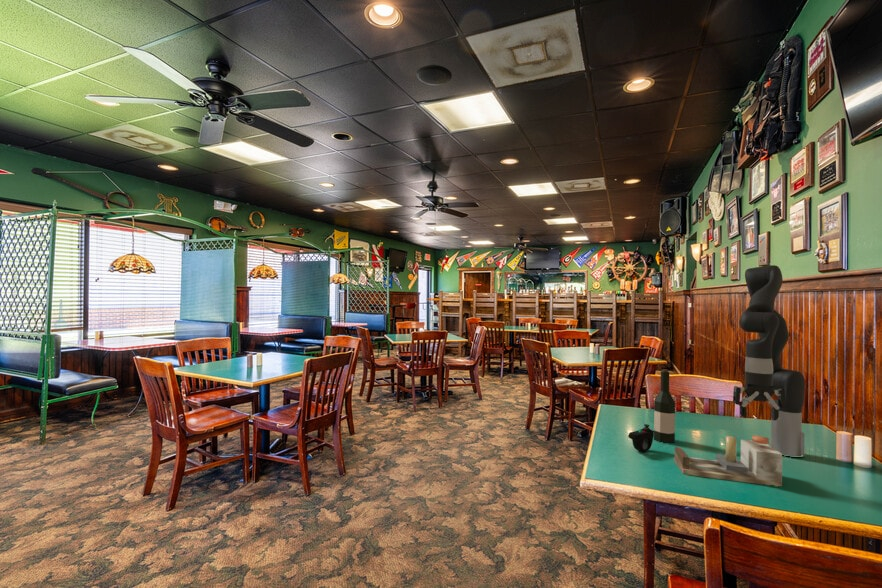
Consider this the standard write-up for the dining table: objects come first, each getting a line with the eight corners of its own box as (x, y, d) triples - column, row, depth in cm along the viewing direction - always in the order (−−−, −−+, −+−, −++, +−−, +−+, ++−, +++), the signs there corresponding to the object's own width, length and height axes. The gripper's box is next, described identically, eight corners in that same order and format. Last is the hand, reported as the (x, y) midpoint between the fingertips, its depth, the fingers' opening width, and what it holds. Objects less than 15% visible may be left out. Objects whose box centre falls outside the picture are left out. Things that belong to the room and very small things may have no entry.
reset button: (765, 440, 137) (765, 436, 137) (771, 444, 133) (771, 440, 133) (750, 438, 138) (750, 434, 138) (755, 443, 134) (755, 438, 134)
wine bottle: (669, 437, 174) (670, 368, 175) (679, 444, 166) (680, 371, 167) (649, 436, 175) (650, 367, 176) (658, 443, 167) (659, 371, 167)
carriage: (735, 461, 142) (735, 433, 142) (747, 472, 132) (747, 443, 133) (715, 458, 144) (715, 431, 144) (726, 469, 134) (726, 441, 134)
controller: (655, 450, 158) (656, 425, 158) (636, 456, 152) (636, 429, 152) (645, 447, 162) (645, 422, 162) (626, 452, 156) (626, 426, 156)
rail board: (763, 472, 140) (764, 441, 140) (782, 487, 129) (782, 454, 129) (673, 460, 148) (674, 432, 148) (683, 474, 137) (683, 443, 137)
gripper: (778, 370, 138) (778, 417, 138) (730, 367, 142) (729, 413, 142) (790, 374, 131) (790, 424, 131) (738, 371, 135) (738, 419, 135)
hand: (758, 418), depth 136 cm, fingers open, 8 cm apart
